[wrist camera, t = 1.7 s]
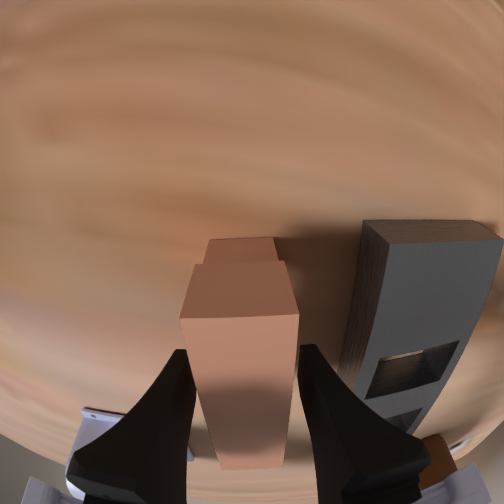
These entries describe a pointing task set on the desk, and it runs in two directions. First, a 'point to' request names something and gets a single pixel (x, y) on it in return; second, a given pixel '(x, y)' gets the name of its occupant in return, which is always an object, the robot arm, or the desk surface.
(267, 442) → the tan tabbed block
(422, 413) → the grey slotted tapered plate
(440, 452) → the mug
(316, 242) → the desk surface
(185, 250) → the desk surface
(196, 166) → the desk surface
